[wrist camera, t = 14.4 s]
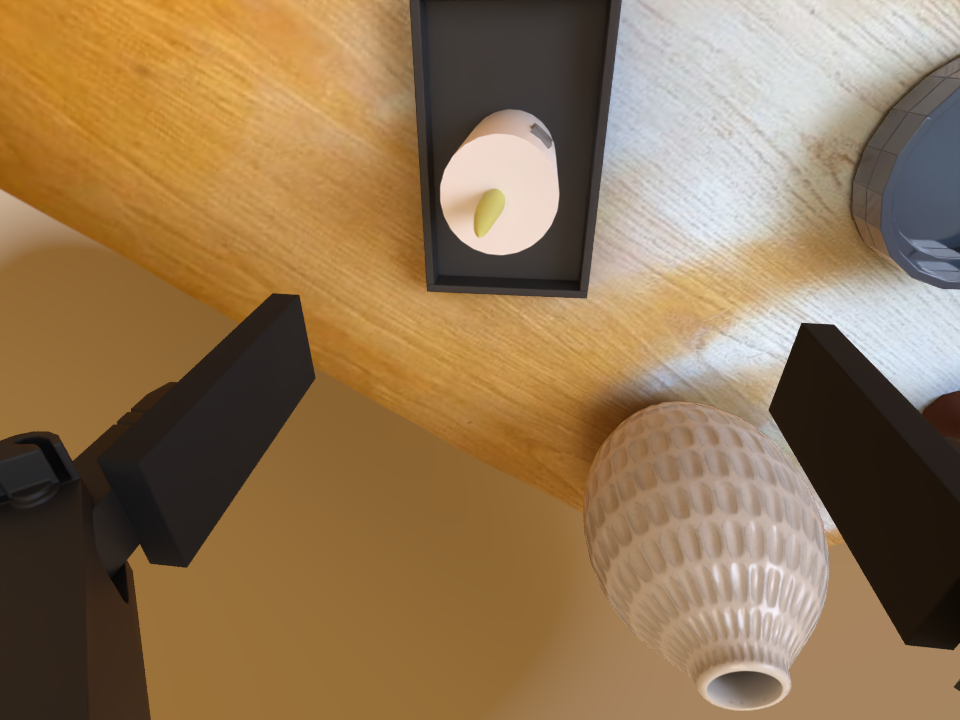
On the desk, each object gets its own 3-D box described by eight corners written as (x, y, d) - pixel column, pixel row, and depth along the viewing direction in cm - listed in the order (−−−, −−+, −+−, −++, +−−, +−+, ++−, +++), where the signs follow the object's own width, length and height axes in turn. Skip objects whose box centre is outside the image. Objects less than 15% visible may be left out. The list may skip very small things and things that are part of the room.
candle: (577, 152, 36) (595, 215, 23) (513, 222, 39) (497, 312, 26) (509, 84, 34) (487, 111, 21) (447, 162, 37) (396, 228, 24)
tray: (417, -11, 32) (408, -14, 30) (618, -13, 31) (623, -17, 29) (432, 279, 42) (426, 291, 40) (584, 285, 41) (586, 298, 39)
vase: (664, 520, 54) (729, 781, 35) (541, 441, 50) (538, 685, 31) (802, 426, 46) (980, 696, 27) (668, 324, 42) (767, 555, 23)
